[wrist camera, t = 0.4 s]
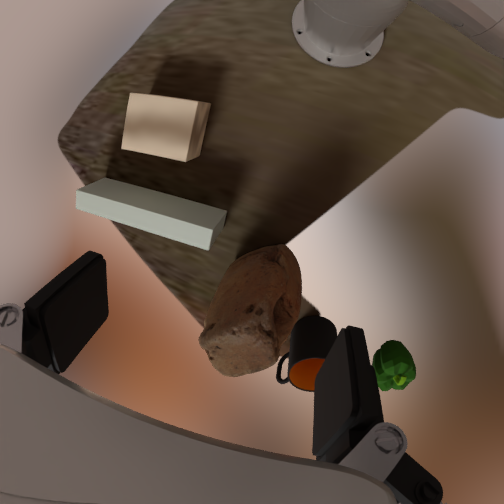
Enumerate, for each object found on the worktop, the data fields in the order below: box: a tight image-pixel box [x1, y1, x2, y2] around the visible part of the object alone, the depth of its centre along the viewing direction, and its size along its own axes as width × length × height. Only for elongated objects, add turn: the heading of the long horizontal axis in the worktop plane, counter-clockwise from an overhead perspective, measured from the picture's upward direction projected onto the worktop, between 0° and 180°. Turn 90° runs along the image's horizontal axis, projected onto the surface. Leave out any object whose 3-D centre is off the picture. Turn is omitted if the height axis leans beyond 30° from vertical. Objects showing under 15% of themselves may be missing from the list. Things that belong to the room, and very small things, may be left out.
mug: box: [276, 316, 337, 392], centre depth 49 cm, size 8×12×10 cm
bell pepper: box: [372, 340, 416, 391], centre depth 48 cm, size 8×8×10 cm
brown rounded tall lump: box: [199, 244, 302, 377], centre depth 40 cm, size 11×8×20 cm
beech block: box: [121, 93, 211, 162], centre depth 38 cm, size 8×10×6 cm
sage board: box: [76, 178, 227, 250], centre depth 43 cm, size 3×22×8 cm, turn 76°
